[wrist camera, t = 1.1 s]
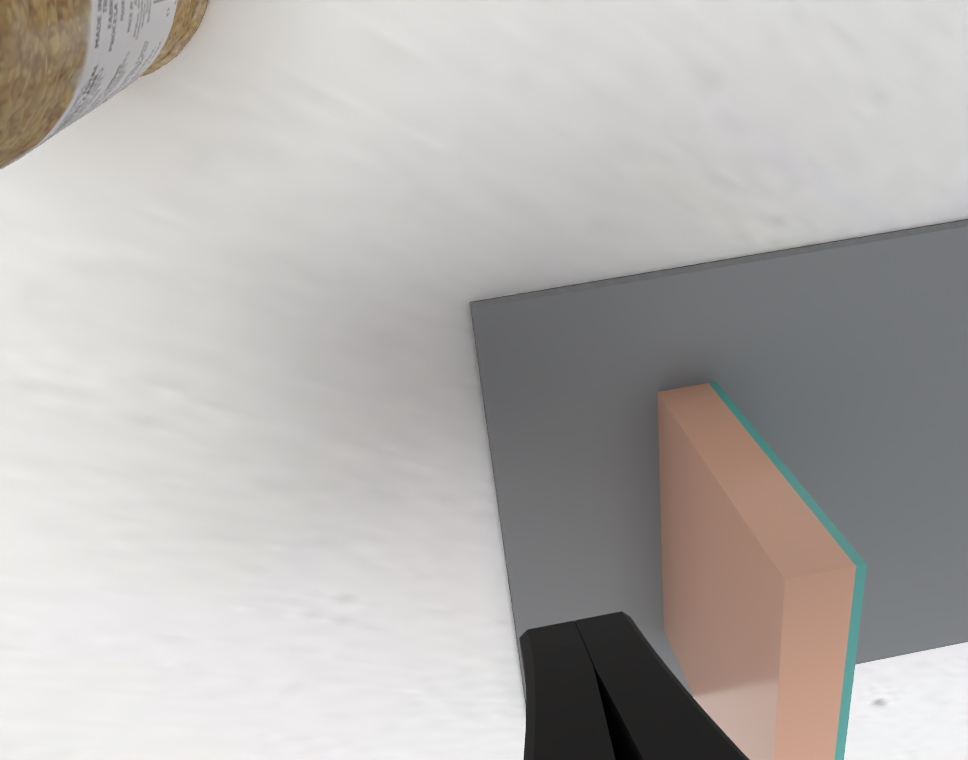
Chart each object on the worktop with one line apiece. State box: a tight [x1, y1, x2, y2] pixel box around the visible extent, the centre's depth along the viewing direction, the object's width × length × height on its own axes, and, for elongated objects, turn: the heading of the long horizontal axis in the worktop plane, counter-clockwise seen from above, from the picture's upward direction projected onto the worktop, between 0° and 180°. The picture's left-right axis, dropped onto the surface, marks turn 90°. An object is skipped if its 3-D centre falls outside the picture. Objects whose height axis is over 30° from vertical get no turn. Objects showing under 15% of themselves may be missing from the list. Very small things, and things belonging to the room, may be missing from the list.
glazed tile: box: [657, 382, 867, 760], centre depth 20 cm, size 2×8×7 cm, turn 7°
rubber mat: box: [470, 220, 968, 702], centre depth 23 cm, size 18×14×1 cm
